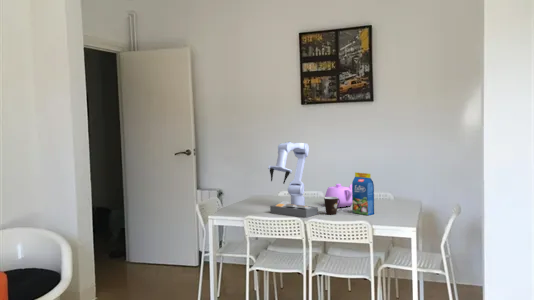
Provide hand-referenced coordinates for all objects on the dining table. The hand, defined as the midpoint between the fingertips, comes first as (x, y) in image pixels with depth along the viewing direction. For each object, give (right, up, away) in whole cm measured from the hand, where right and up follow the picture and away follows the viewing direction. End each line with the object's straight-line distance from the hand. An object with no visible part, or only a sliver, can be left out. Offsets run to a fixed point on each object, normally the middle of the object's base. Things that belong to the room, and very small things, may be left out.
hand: (277, 182), depth 289 cm
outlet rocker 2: (+10, -16, +7) cm, 20 cm away
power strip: (+10, -20, +7) cm, 24 cm away
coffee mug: (+35, -20, +4) cm, 40 cm away
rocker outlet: (+17, -16, +1) cm, 23 cm away
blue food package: (+53, -20, +1) cm, 56 cm away
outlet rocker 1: (+3, -15, +13) cm, 20 cm away
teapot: (+42, -18, +30) cm, 55 cm away
